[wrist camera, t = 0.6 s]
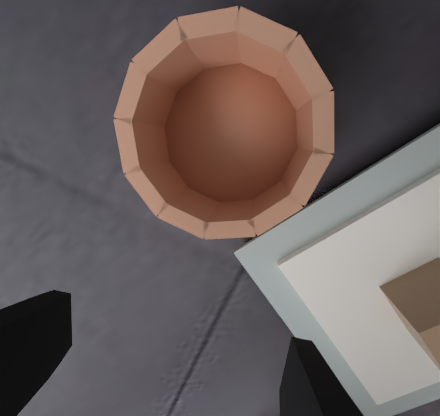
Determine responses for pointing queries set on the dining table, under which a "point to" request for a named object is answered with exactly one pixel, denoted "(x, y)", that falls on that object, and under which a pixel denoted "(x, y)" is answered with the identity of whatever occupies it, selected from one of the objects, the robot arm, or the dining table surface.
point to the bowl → (225, 123)
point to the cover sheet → (380, 290)
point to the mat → (323, 223)
